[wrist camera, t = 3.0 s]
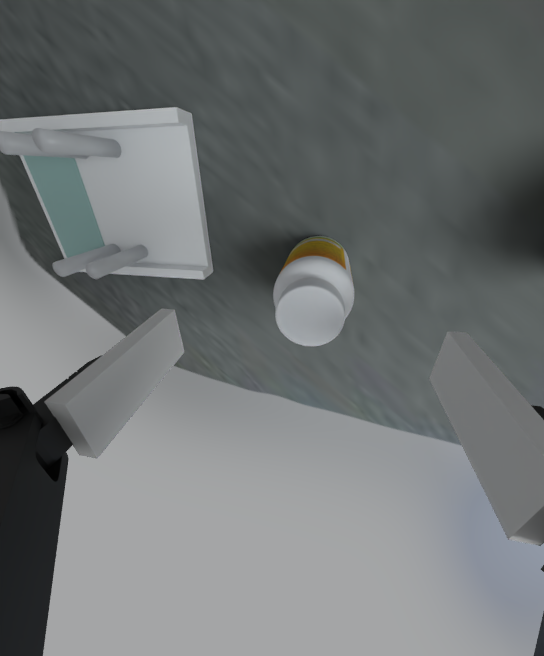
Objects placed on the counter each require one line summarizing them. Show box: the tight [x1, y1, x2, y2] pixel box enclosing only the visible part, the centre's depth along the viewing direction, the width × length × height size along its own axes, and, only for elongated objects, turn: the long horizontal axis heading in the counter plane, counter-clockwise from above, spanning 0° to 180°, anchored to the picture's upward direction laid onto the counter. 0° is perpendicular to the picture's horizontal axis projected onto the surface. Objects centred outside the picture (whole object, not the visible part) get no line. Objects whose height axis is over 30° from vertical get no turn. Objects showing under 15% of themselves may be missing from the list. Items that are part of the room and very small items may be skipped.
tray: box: [0, 107, 213, 279], centre depth 20 cm, size 16×12×7 cm
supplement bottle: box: [273, 236, 354, 346], centre depth 19 cm, size 5×5×10 cm
